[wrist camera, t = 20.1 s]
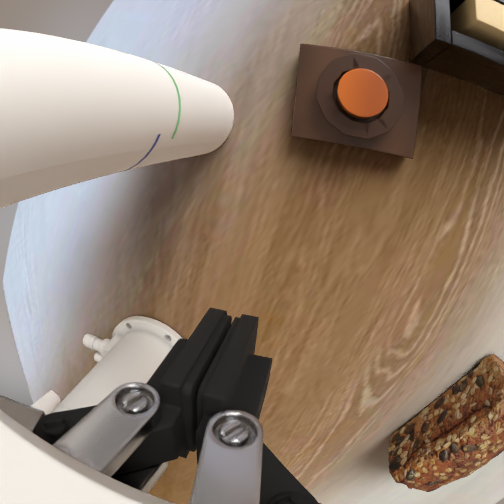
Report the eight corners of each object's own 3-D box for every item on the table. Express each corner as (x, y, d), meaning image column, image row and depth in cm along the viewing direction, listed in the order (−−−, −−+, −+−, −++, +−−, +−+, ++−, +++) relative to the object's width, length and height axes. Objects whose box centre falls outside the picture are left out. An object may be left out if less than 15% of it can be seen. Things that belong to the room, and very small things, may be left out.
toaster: (408, 63, 21) (435, 39, 14) (409, -1, 18) (430, -38, 11) (527, 107, 19) (574, 106, 12) (526, 46, 16) (568, 32, 9)
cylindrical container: (150, 125, 28) (-111, 166, 6) (193, 67, 25) (-76, 6, 3) (201, 170, 29) (-67, 284, 6) (250, 111, 26) (-45, 72, 3)
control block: (293, 136, 26) (287, 136, 22) (302, 50, 23) (298, 36, 19) (406, 157, 24) (419, 160, 20) (415, 70, 21) (428, 61, 17)
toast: (440, 46, 19) (476, 19, 12) (440, 23, 18) (474, -9, 11) (512, 76, 18) (560, 65, 10) (512, 53, 17) (557, 37, 9)
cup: (42, 384, 53) (10, 417, 42) (56, 388, 51) (22, 424, 40) (54, 403, 54) (24, 435, 44) (68, 407, 53) (37, 442, 42)
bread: (489, 344, 28) (519, 403, 19) (522, 376, 28) (548, 427, 19) (383, 433, 35) (385, 493, 26) (426, 453, 35) (432, 505, 26)
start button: (334, 114, 21) (334, 112, 20) (339, 69, 20) (339, 64, 18) (381, 123, 21) (385, 122, 19) (386, 78, 19) (390, 73, 18)
